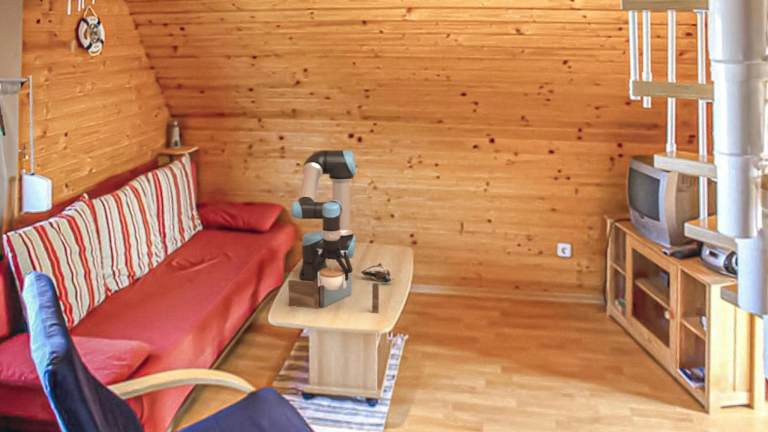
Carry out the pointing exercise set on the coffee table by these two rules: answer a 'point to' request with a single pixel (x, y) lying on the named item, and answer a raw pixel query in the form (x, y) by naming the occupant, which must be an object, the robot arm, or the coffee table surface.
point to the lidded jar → (331, 277)
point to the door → (334, 293)
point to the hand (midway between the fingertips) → (332, 286)
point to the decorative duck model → (377, 273)
